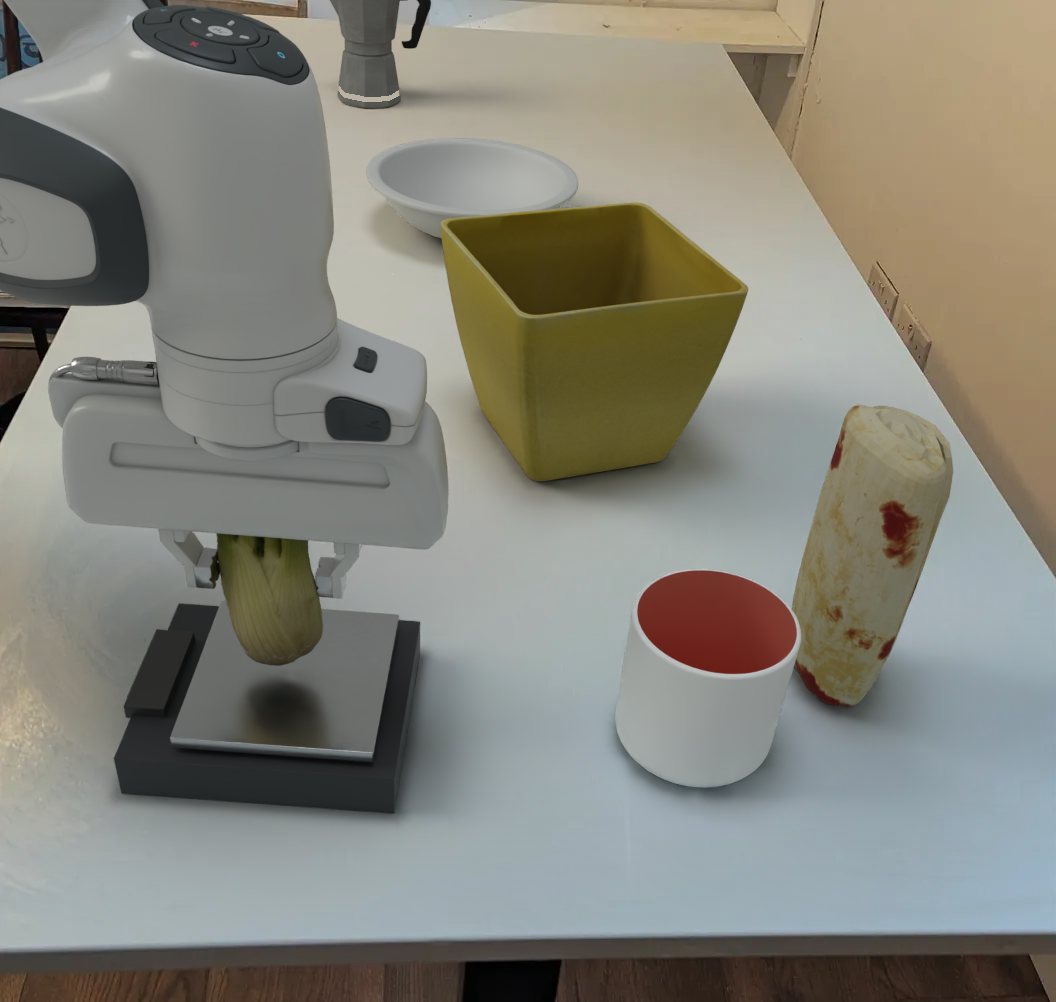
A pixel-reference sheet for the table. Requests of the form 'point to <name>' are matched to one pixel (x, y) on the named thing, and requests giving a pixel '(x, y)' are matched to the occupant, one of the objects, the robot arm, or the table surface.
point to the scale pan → (292, 692)
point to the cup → (705, 676)
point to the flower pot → (587, 331)
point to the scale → (249, 776)
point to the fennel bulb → (270, 596)
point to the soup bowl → (467, 180)
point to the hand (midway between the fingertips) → (269, 586)
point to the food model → (868, 547)
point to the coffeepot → (372, 48)
